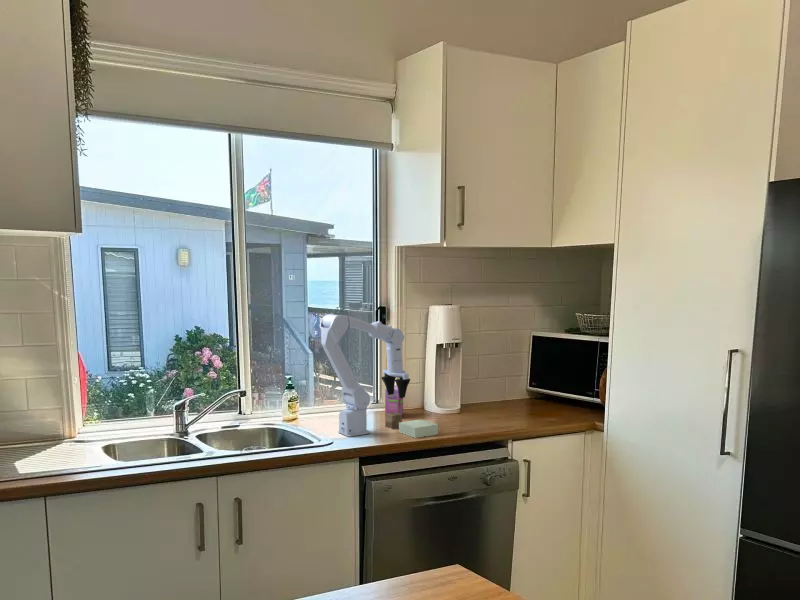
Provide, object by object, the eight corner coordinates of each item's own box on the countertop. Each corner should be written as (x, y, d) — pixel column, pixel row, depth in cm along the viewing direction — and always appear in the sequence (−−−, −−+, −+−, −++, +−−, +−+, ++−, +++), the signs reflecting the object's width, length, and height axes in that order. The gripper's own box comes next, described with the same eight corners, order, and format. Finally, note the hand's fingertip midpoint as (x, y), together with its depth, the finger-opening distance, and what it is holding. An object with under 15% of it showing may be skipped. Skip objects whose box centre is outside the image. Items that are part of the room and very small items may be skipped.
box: (398, 419, 238) (398, 389, 237) (384, 418, 239) (384, 389, 238) (403, 413, 248) (403, 385, 248) (390, 413, 249) (390, 384, 249)
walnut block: (391, 429, 221) (391, 415, 221) (385, 426, 224) (385, 413, 224) (402, 427, 223) (402, 414, 223) (395, 425, 227) (395, 412, 227)
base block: (415, 438, 207) (415, 428, 207) (399, 432, 215) (399, 422, 215) (438, 434, 213) (438, 424, 213) (421, 428, 221) (421, 419, 221)
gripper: (414, 360, 220) (416, 397, 221) (392, 356, 232) (394, 391, 233) (398, 363, 216) (400, 400, 217) (377, 359, 228) (379, 394, 229)
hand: (396, 396), depth 224 cm, fingers open, 7 cm apart
